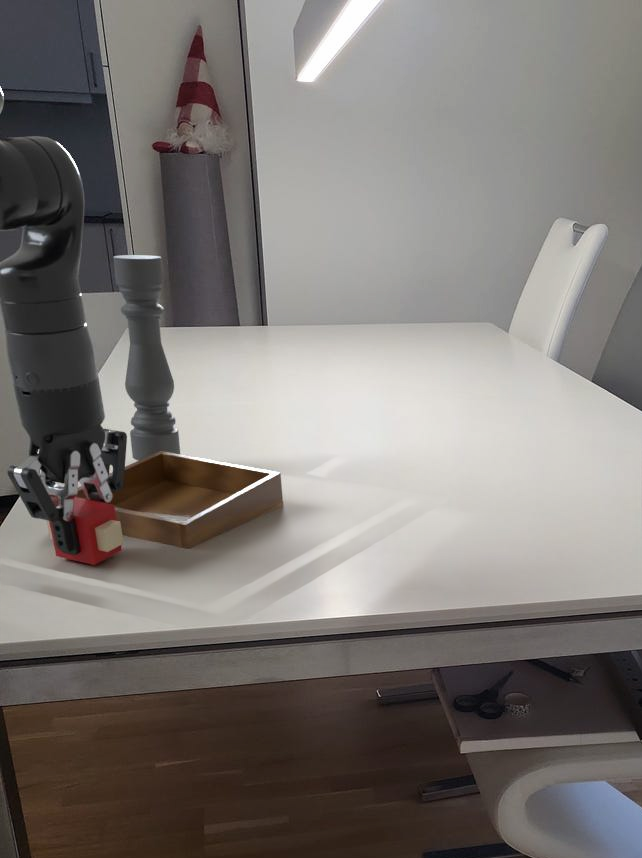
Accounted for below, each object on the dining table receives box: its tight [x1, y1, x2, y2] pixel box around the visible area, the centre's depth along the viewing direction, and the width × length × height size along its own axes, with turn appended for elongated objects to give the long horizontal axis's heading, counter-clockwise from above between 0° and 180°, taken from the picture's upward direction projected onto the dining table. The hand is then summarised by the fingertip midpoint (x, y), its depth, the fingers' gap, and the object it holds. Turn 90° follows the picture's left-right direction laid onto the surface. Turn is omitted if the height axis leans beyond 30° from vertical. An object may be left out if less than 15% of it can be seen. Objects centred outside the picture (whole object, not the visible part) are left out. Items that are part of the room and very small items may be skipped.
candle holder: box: [112, 254, 181, 461], centre depth 134 cm, size 6×6×25 cm
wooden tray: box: [58, 451, 284, 550], centre depth 119 cm, size 18×18×4 cm
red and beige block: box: [46, 497, 125, 566], centre depth 104 cm, size 7×4×5 cm, turn 66°
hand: (87, 543), depth 105 cm, fingers closed on red and beige block, 4 cm apart
